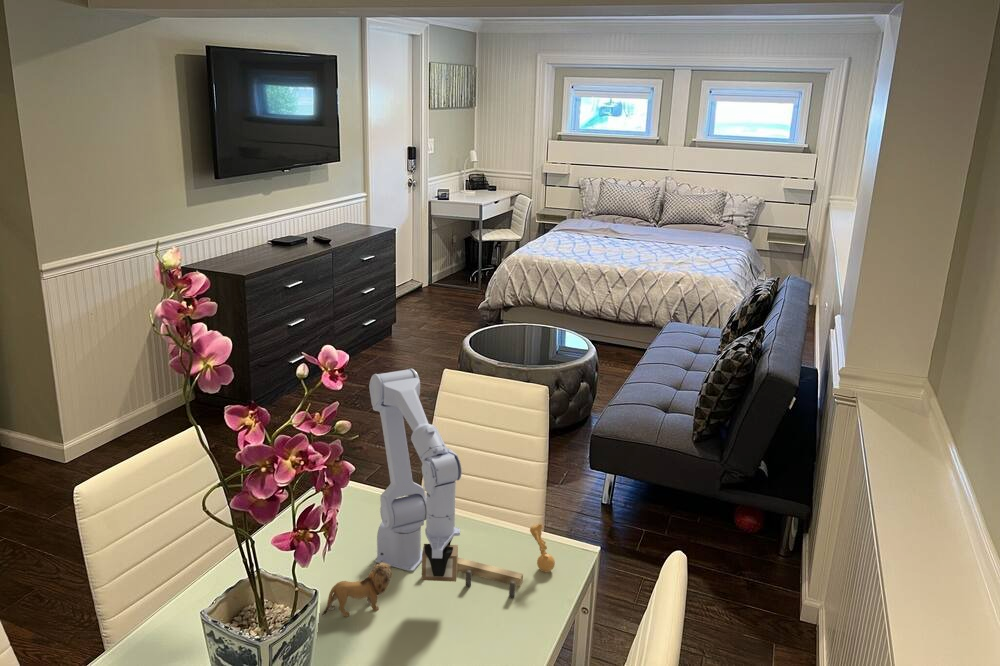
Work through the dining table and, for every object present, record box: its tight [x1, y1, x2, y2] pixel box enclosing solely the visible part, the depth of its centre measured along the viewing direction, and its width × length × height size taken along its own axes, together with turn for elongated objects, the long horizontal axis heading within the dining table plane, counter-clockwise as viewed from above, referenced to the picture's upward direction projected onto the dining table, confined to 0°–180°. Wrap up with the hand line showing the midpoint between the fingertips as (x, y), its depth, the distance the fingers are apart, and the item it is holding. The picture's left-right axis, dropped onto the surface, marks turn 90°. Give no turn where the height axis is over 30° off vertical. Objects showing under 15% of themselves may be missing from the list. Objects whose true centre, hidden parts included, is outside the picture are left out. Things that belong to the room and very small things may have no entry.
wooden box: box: [421, 543, 459, 583], centre depth 160 cm, size 7×4×6 cm, turn 89°
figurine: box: [529, 523, 556, 573], centre depth 174 cm, size 8×6×12 cm
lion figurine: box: [321, 563, 392, 618], centre depth 159 cm, size 15×5×9 cm, turn 117°
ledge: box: [457, 557, 524, 599], centre depth 171 cm, size 21×7×4 cm, turn 70°
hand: (439, 568), depth 161 cm, fingers closed on wooden box, 4 cm apart
